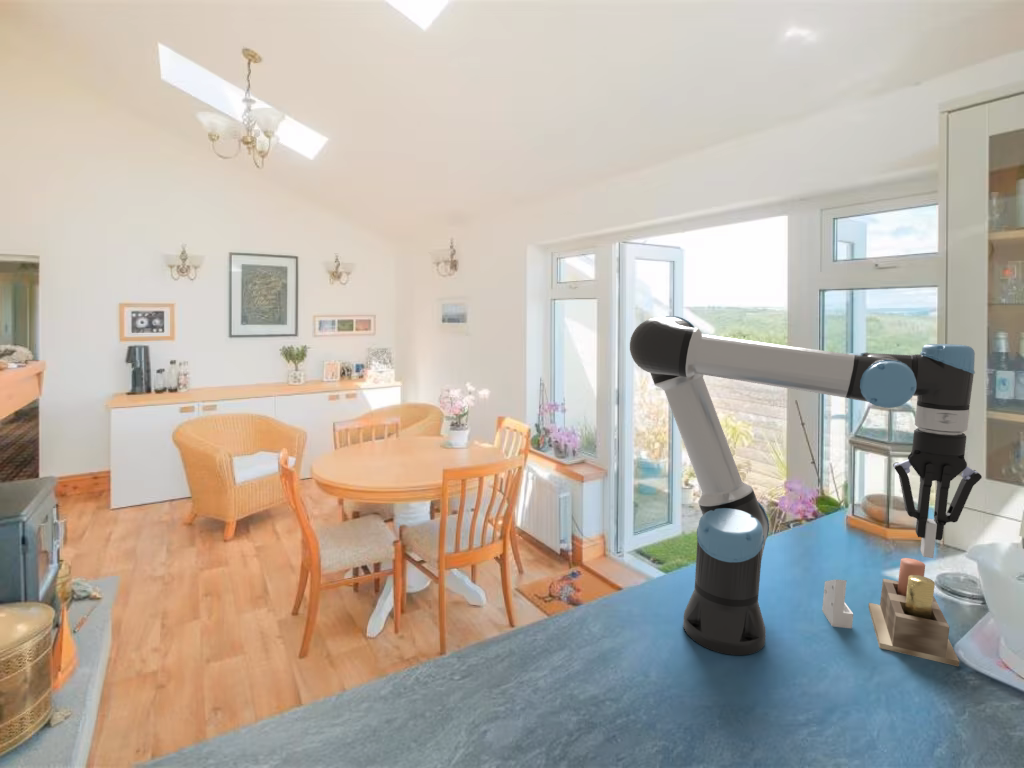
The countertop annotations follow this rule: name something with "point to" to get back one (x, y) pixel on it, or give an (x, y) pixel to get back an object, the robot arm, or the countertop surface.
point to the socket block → (911, 628)
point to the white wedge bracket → (836, 604)
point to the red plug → (908, 573)
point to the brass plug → (919, 596)
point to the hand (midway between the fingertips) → (926, 554)
